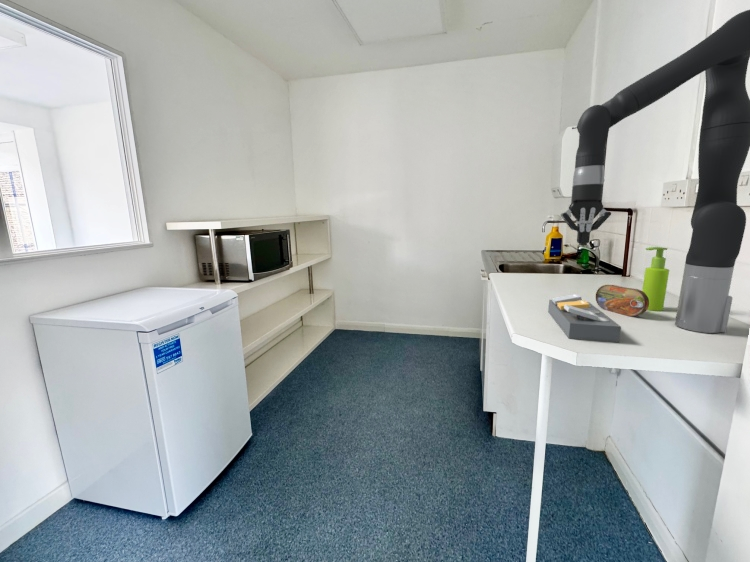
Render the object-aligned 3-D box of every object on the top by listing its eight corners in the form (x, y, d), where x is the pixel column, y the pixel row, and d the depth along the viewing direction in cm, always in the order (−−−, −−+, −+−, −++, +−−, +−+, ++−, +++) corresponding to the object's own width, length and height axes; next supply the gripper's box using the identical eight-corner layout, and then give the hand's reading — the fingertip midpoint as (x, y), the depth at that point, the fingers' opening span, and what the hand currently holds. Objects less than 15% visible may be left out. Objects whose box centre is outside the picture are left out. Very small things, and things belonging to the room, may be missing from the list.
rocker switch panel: (587, 314, 106) (588, 299, 105) (618, 342, 83) (621, 323, 82) (548, 312, 108) (549, 297, 108) (568, 338, 86) (570, 320, 85)
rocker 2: (584, 303, 96) (584, 300, 96) (589, 307, 92) (589, 303, 92) (557, 306, 98) (557, 302, 98) (560, 309, 94) (560, 306, 94)
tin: (593, 307, 114) (596, 282, 112) (600, 306, 115) (603, 281, 113) (641, 319, 100) (645, 291, 99) (648, 318, 101) (653, 290, 100)
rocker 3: (591, 315, 90) (593, 312, 90) (596, 320, 86) (598, 316, 86) (563, 307, 91) (565, 303, 91) (567, 311, 87) (569, 307, 87)
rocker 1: (577, 296, 103) (577, 293, 102) (581, 300, 99) (581, 296, 99) (552, 301, 105) (551, 297, 105) (555, 304, 101) (554, 301, 101)
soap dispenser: (632, 306, 114) (640, 246, 110) (653, 306, 114) (662, 246, 110) (645, 311, 109) (654, 248, 105) (667, 311, 108) (678, 248, 104)
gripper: (608, 183, 99) (603, 243, 102) (558, 185, 102) (554, 244, 105) (620, 181, 92) (613, 245, 95) (565, 183, 95) (561, 246, 98)
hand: (582, 244), depth 100 cm, fingers closed
